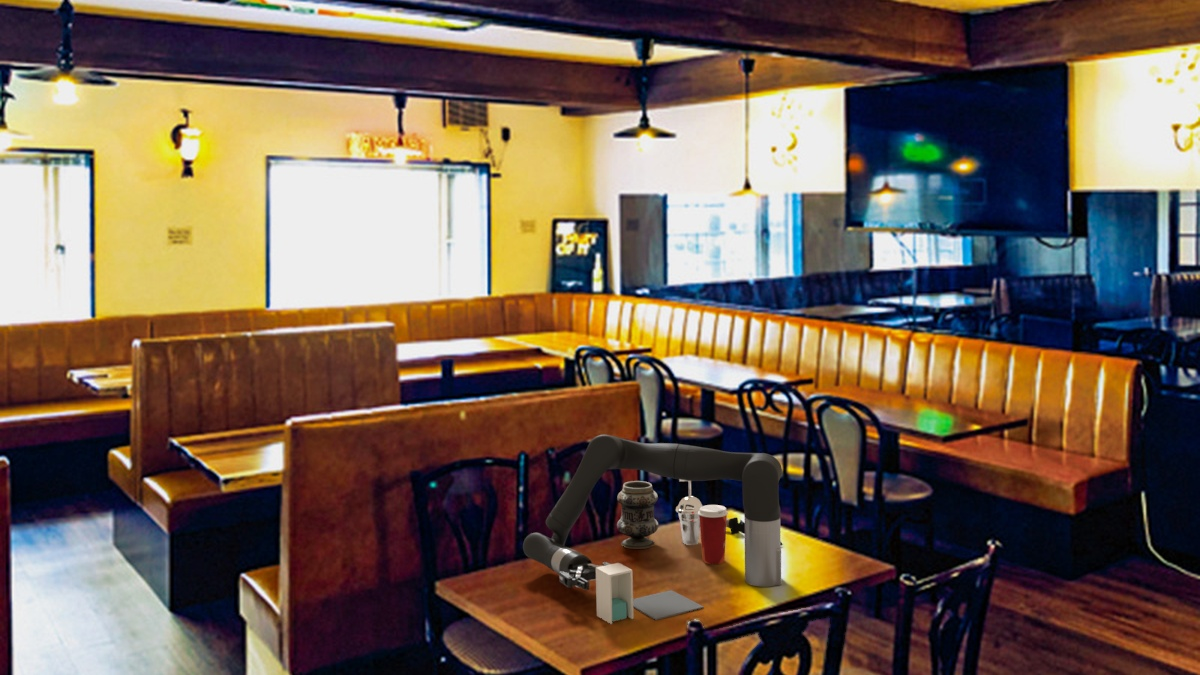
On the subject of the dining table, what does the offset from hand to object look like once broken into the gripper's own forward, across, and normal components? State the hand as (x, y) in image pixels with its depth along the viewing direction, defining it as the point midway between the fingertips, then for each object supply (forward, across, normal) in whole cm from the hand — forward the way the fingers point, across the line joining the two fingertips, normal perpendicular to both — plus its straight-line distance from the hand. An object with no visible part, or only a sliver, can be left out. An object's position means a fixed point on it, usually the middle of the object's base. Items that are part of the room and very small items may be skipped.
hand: (603, 582), depth 263 cm
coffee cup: (-15, +44, +7) cm, 47 cm away
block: (+5, 0, +7) cm, 9 cm away
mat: (+5, +14, +7) cm, 16 cm away
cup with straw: (-32, +48, +7) cm, 58 cm away
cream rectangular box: (+5, 0, +7) cm, 9 cm away
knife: (-29, +65, +7) cm, 72 cm away
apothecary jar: (-40, +35, +7) cm, 53 cm away
